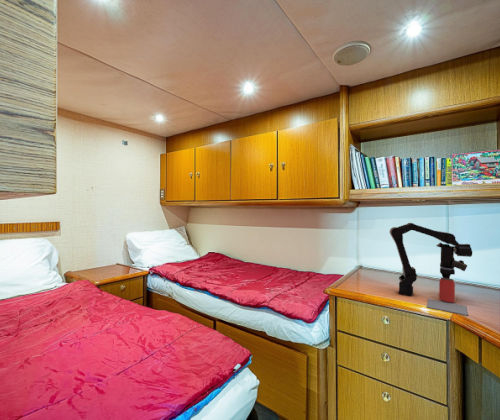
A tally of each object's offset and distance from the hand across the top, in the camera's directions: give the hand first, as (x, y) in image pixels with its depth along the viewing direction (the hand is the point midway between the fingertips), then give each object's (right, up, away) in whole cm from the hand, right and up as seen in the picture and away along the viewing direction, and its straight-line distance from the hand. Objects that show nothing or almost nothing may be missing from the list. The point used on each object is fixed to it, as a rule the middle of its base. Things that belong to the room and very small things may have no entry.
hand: (446, 283), depth 141 cm
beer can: (-4, -8, -5) cm, 11 cm away
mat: (-9, -9, -12) cm, 18 cm away
